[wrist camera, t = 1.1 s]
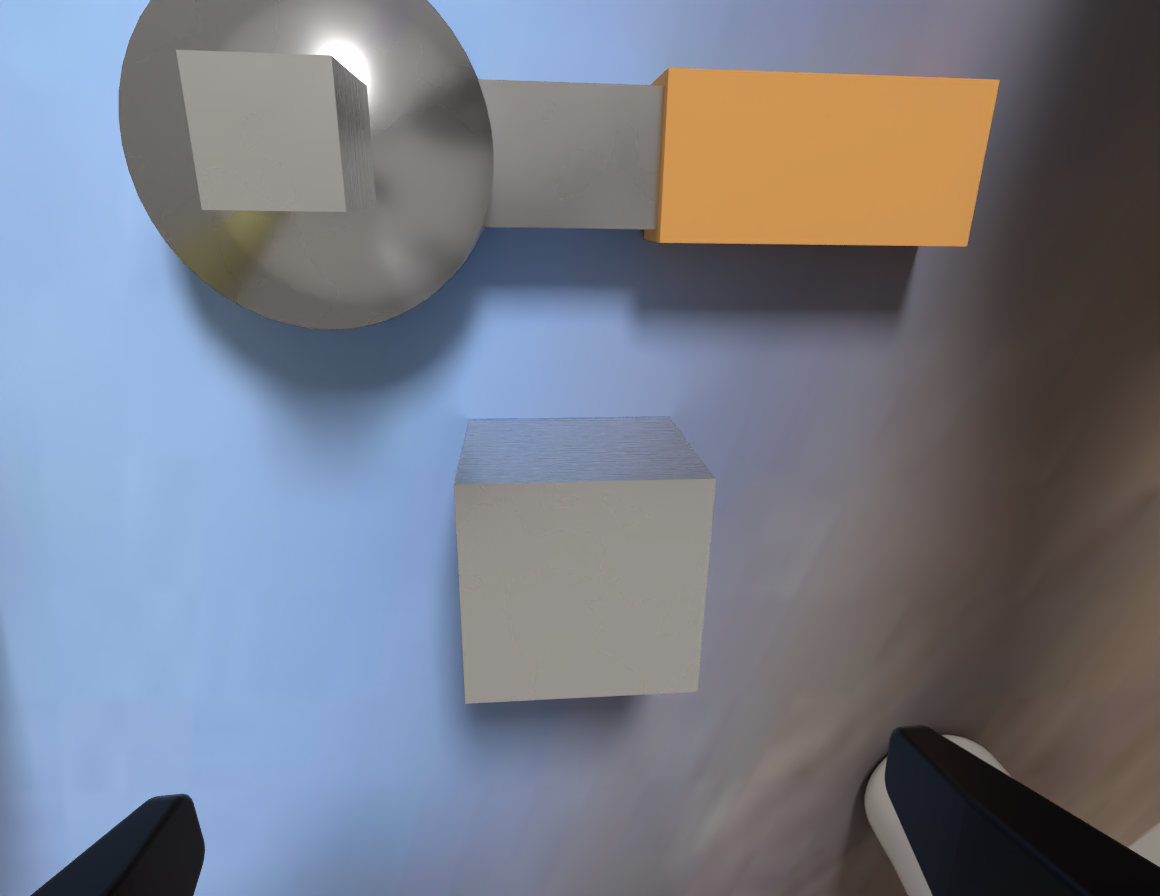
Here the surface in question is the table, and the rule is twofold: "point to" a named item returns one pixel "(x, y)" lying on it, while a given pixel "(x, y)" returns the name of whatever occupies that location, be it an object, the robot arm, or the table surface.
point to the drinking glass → (891, 828)
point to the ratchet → (499, 153)
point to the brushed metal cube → (581, 558)
